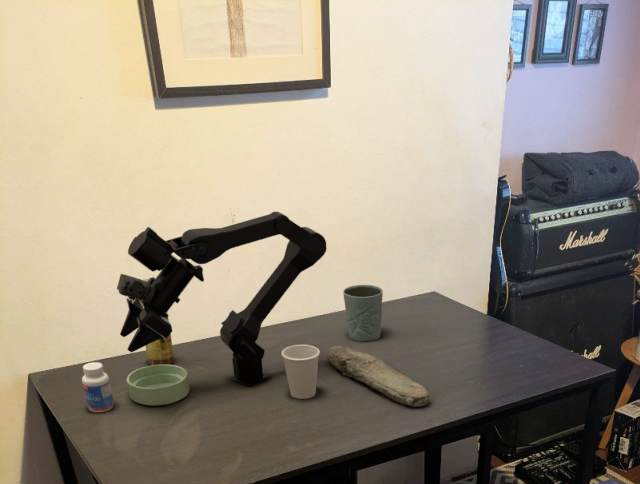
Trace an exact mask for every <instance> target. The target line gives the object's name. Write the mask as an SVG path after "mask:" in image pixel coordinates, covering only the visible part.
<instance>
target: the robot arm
mask: <svg viewBox="0 0 640 484" xmlns="http://www.w3.org/2000/svg"><path fill="white" fill-rule="evenodd" d="M278 235H279V236H280V235H281V236H282V237H284V238H285V239H287V240H288V242H287V244H286V248H285V252H284V255H283V258H282V260H281V261H280V262H279V264H278V265H277V266H276V268H275V269H274V270H273V272H272V273H271V274H270V275H269V277H268V278H267V280H266V281H265V282H264V284H262V286H261V287H260V289H259V290H258V291H257V293H256V294H255V295H254V296H253V298H252V299H251V300H250V302H249V303H248V304H247V306H246V307H245V308H244V309H243V310H241V311H239V312H236V311H235V310H234V309H232V310H231V311H230V312H229V314H228V315H227V317H226V319H225V320H224V321H222V322H221V323H220V324H221V328H220V330H219V336H220V340H221V342H223V344H225V345H226V347H228V349H229V350H230V351H231V352H232V367H233V374H234V375H233V376H230V378H229V380H230V381H232V382H235V383H237V384H240V385H242V386H245V387H253V386H254V385H256V384H258V383H261V382H263V381H265V380H267V379H269V375H268V374H266V373H264V369H263V360H264V356H265V352H266V350H265V349H264V348H263V347H262V346H261V345H260V344H259V343H258V342H256V341H257V340H258V338H259V335H260V332H261V328H262V324H263V323H264V321H265V319H266V318H267V317H268V315H269V314H271V312H272V310H273V309H274V308H275V307H276V305H277V304H278V302H280V300H281V299H282V297H283V296H284V295H285V293H286V292H287V291H288V290H289V289H290V287H291V286H292V284H293V283H294V282H295V281H296V279H297V278H298V277H299V275H301V273H302V272H304V271H306V270H307V269H309V268H311V267H313V266H314V265H315V264H316V263H317V262H318V261H320V260H321V259H322V258H323V257H324V256H325V254H326V252H327V249H328V248H327V241H326V238H325V237H324V235H323V234H320V232H318V231H315V230H314V229H312V228H310V227H307V226H300V225H298V224H297V223H295V221H292V220H291V219H290V218H289V216H287V215H286V214H284V213H282V212H280V211H272V212H271V213H269V214H265V215H262V216H259V217H254V218H251V219H248V220H244V221H241V222H237V223H234V224H231V225H227V226H224V227H223V226H222V227H215V228H213V227H200V228H191V229H188V230H186V231H184V232H183V233H182V235H181V236H178V237H173V238H171V239H167V240H165V239H164V238H163V237H161V236H160V235H159V234H158V232H156V231H155V230H154V229H153V228H151V227H150V226H147V227H146V228H145V229H144V230H143V231H141V232H140V233H139V234H137V236H134V238H133V239H132V241H131V242H130V244H129V246H128V249H127V254H128V255H129V256H130V257H131V258H133V259H134V260H136V261H137V262H138V263H140V264H141V265H142V266H144V267H145V268H146V269H147V270H149V271H150V272H156V271H158V272H159V273H158V275H157V276H156V277H155V276H152V277H149V278H148V279H149V280H148V282H146V281H143V280H144V279H141V278H137V277H134V276H131V275H128V274H124V273H120V276H119V279H118V282H117V286H116V287H117V288H116V290H117V291H118V294H120V295H122V296H124V297H126V303H127V307H128V311H127V314H126V317H125V320H124V322H123V325H122V327H121V330H120V332H119V335H120V336H121V337H123V338H126V337H127V336H129V335H130V334H132V333H134V335H133V337H132V339H131V340H130V342H129V344H128V347H127V351H128V352H130V353H134V352H136V351H137V350H140V349H142V348H143V347H145V346H146V345H148V344H150V343H152V342H154V341H157V340H159V339H163V338H164V337H165V338H168V336H169V335H170V334H171V335H172V333H173V327H172V323H171V322H170V320H169V321H168V320H167V319H166V318H167V317H168V318H169V314H167V313H168V312H169V310H170V309H171V308H172V307H173V305H174V304H175V303H176V304H179V302H180V301H181V299H180V296H181V294H182V293H183V292H184V291H185V289H186V288H187V287H188V285H189V284H190V283H191V282H192V280H193V278H196V279H197V280H198V281H200V282H202V283H203V282H204V281H205V278H204V273H203V272H204V268H203V267H202V266H201V265H206V264H208V263H211V262H212V261H214V260H216V259H218V258H220V257H221V256H222V255H223V254H225V253H226V252H227V251H229V250H232V249H235V248H237V247H242V246H244V245H248V244H251V243H252V244H253V243H255V242H258V241H262V240H264V239H265V240H266V239H268V238H272V237H275V236H278ZM173 254H175V255H176V256H174V255H173ZM177 257H179V258H180V259H179V258H177ZM189 260H191V261H192V262H193V263H194V264H198V265H194V264H193V263H192V262H190V261H189ZM134 331H135V332H134Z"/></svg>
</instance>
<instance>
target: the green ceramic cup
mask: <svg viewBox="0 0 640 484" xmlns="http://www.w3.org/2000/svg"><path fill="white" fill-rule="evenodd" d="M383 291H384V290H383V289H382V288H381V287H380V286H376V285H373V284H355V285H351V286H348V287H346V288H344V289H343V291H342V294H343V302H344V309H345V319H346V324H347V325H346V328H347V337H348V338H349V339H351V340H353V341H356V342H372V341H376V340H378V339H379V338H381V335H382V333H381V332H382V317H383V316H382V315H383V308H382V306H383V293H384V292H383Z"/></svg>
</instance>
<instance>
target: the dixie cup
mask: <svg viewBox="0 0 640 484" xmlns="http://www.w3.org/2000/svg"><path fill="white" fill-rule="evenodd" d="M320 354H321V350H319V348H318V347H316V346H313V345H310V344H293V345H290V346H286V347H285V348H284V349H282V351H281V356H282V358H283V364H284V368H285V369H284V370H285V374H286V378H287V385H288V388H289V394H290V396H291V397H292V398H295V399H299V400H306V399H311V398H313V397H314V396H315V395H316V393H317V381H318V369H319V356H320Z"/></svg>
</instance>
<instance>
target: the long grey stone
mask: <svg viewBox="0 0 640 484" xmlns="http://www.w3.org/2000/svg"><path fill="white" fill-rule="evenodd" d="M326 361H327V363H330V364H331V365H332V366H333V367H335V369H337V370H339V371H340V372H342V376H347V377H348V378H353V379H354V380H356V381H358V382H360V383H364V384H366V385H367V386H369V387H370V388H371V389H372V390H376V391H378V392H380V393H382V394H383V395H384V396H386V397H388V398H390V399H391V400H393V401H394V402H397V403H400V404H401V405H406V406H409V407H414V408H416V407H424V406H426V405H428V404H429V402H430V394H429V392H428V390H427V389H426V387H424V386H423V385H422V384H421V383H418V382H416V381H414V380H413V379H411V378H410V377H409V376H407V375H406V374H403V373H401V372H400V371H397V370H396V369H394V368H392V367H391V366H390V365H388V364H386V363H385V361H384V360H382V358H380V357H376V356H374V355H372V354H371V353H370V354H369V353H367V352H366V351H361V350H359V349H354V348H351V347H348V346H344V345H336V346H335V345H333V346H330V347H329V348H328V349H327V350H326Z"/></svg>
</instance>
